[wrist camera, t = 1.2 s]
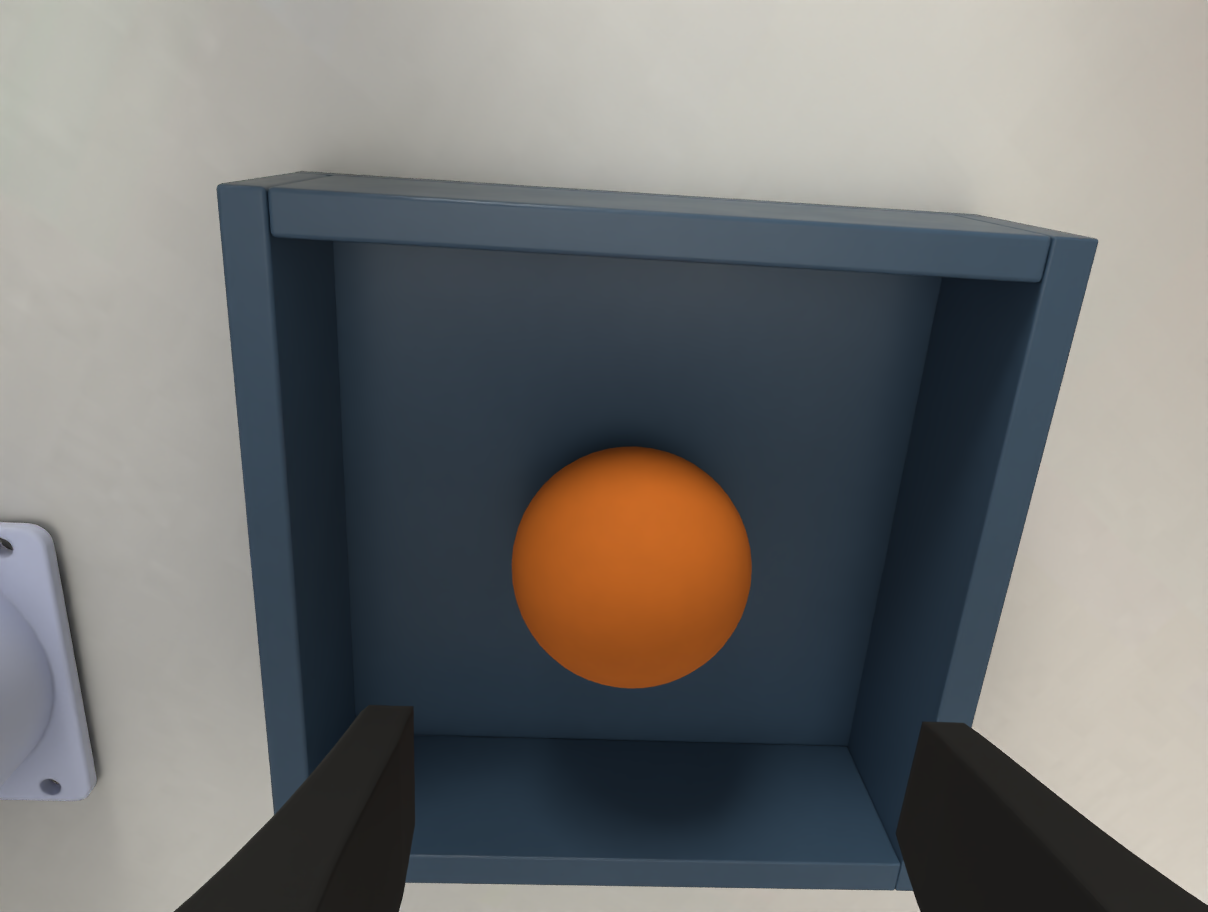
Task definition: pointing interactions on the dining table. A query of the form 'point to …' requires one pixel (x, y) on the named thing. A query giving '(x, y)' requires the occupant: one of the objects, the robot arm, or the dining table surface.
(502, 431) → the tray
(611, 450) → the ball
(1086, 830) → the robot arm
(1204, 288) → the dining table surface
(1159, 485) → the dining table surface
